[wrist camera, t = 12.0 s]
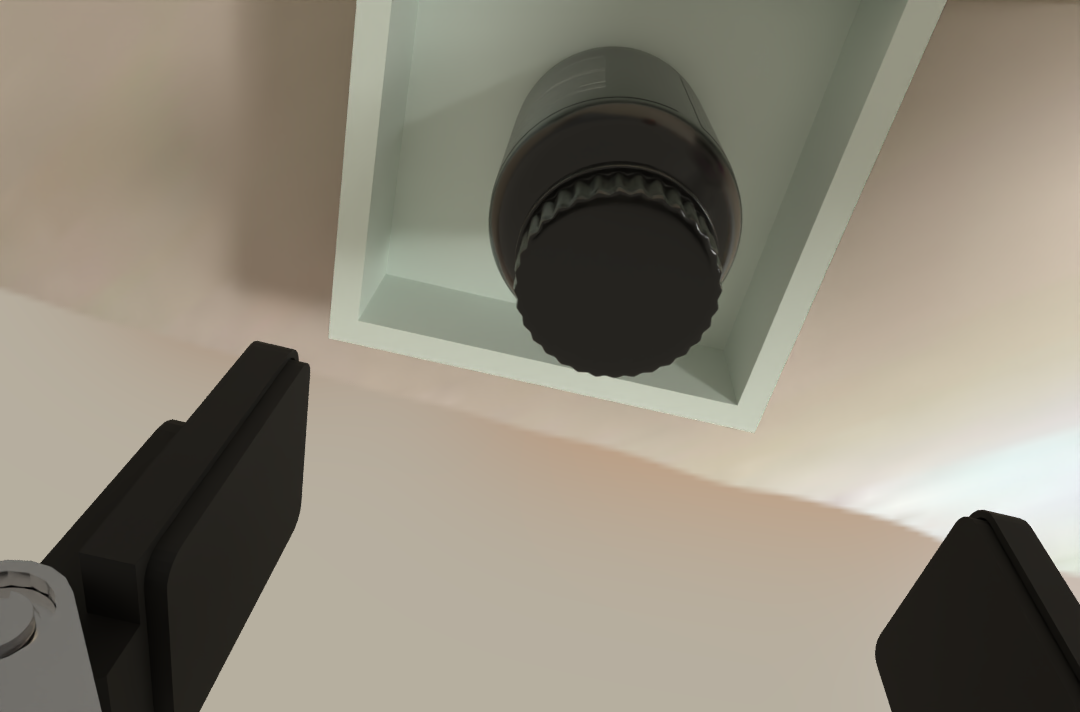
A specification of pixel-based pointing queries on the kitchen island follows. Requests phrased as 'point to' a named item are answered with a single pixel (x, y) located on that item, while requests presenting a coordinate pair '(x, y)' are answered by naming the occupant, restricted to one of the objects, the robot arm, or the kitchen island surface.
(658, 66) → the supplement bottle
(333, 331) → the bin
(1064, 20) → the kitchen island surface
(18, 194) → the kitchen island surface
